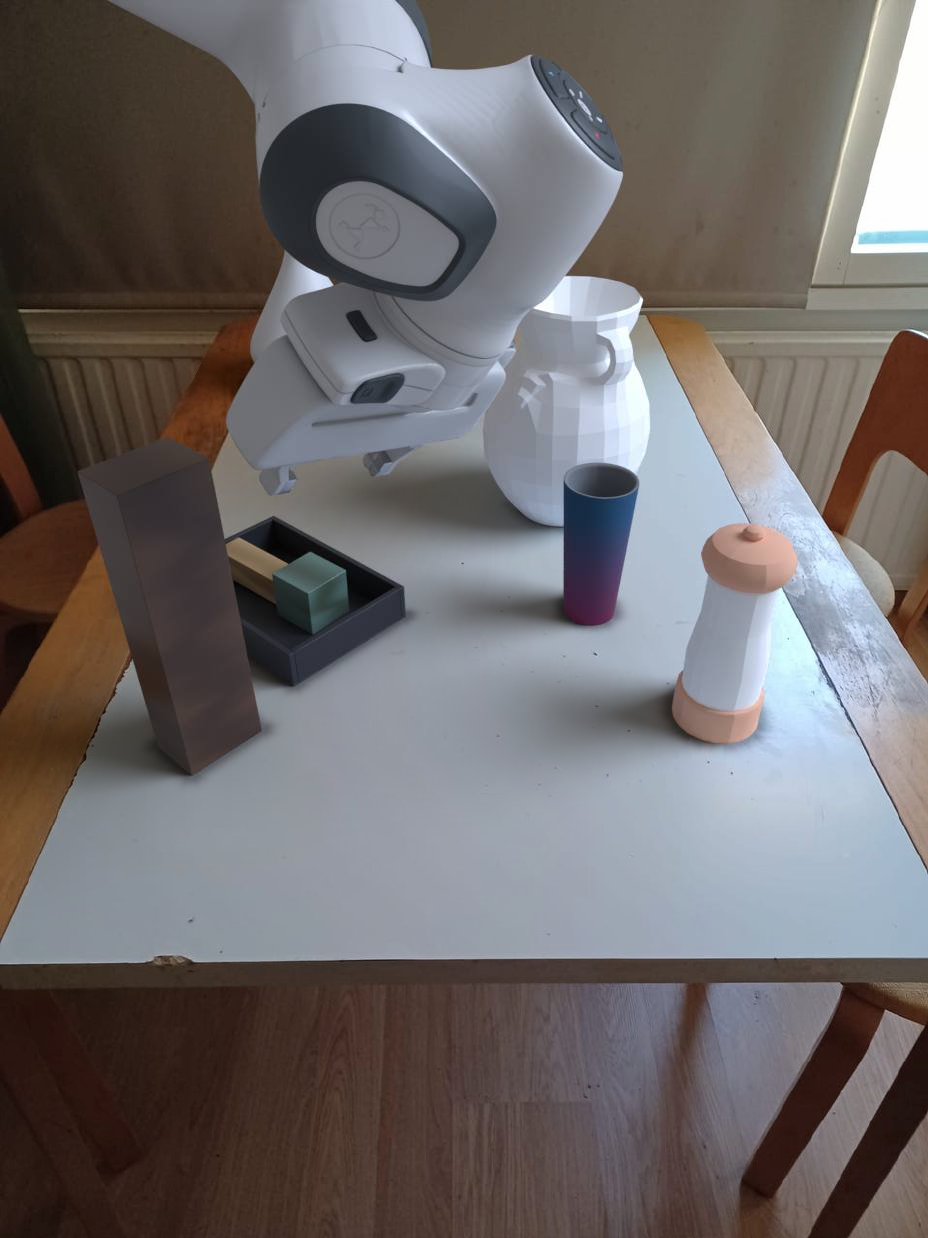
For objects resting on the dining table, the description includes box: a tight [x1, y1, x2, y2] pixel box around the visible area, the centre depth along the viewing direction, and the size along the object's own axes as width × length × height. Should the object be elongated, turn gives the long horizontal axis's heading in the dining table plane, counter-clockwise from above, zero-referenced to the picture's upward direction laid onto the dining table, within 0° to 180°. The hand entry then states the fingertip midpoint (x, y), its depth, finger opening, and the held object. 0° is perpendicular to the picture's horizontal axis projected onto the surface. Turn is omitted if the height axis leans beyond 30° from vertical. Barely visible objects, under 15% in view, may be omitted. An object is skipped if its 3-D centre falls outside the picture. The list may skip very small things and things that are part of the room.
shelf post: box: [77, 436, 263, 777], centre depth 69 cm, size 7×5×26 cm
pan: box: [225, 515, 407, 688], centre depth 90 cm, size 14×20×4 cm
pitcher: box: [482, 275, 651, 528], centre depth 100 cm, size 19×18×25 cm
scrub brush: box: [226, 537, 349, 635], centre depth 91 cm, size 5×15×5 cm, turn 51°
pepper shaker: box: [671, 522, 798, 745], centre depth 73 cm, size 7×7×19 cm
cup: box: [562, 462, 640, 627], centre depth 86 cm, size 7×7×15 cm
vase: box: [249, 249, 334, 364], centre depth 131 cm, size 17×17×25 cm
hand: (325, 477), depth 65 cm, fingers open, 8 cm apart
